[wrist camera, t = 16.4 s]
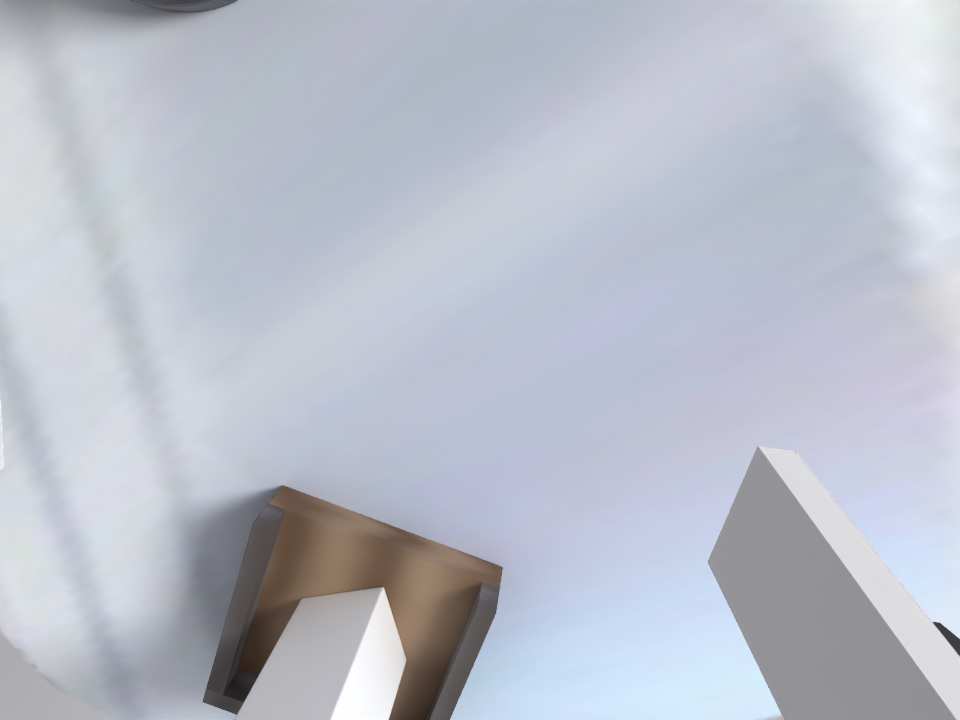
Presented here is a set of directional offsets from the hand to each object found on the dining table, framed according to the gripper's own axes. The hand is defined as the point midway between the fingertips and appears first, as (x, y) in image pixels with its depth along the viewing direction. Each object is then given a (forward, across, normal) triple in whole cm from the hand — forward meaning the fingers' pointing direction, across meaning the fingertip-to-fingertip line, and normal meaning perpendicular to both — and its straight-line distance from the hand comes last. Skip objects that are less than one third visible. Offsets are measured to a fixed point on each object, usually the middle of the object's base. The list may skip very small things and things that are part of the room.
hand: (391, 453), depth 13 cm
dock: (+30, +2, -33) cm, 44 cm away
